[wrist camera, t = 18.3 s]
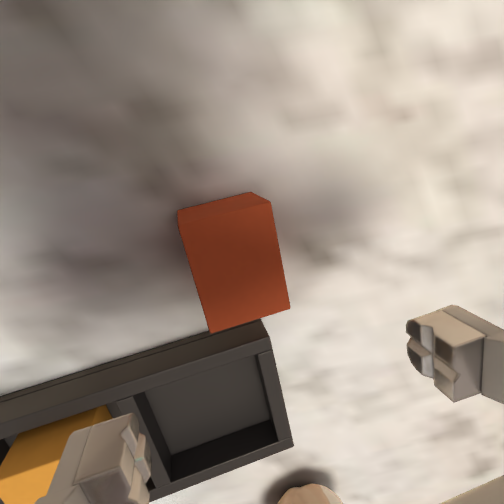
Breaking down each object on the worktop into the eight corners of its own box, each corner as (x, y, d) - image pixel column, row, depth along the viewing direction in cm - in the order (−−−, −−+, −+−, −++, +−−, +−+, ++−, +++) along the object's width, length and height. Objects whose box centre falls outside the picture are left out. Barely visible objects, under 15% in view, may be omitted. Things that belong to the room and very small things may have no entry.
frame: (-30, 405, 18) (-60, 443, 16) (258, 315, 21) (269, 336, 19) (40, 507, 22) (24, 551, 19) (282, 417, 24) (294, 446, 22)
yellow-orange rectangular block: (25, 419, 19) (-11, 484, 15) (101, 394, 20) (84, 451, 16) (66, 484, 21) (42, 556, 17) (133, 460, 22) (124, 523, 18)
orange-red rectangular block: (176, 210, 18) (177, 225, 14) (251, 191, 19) (270, 201, 15) (203, 300, 20) (210, 334, 16) (270, 280, 21) (291, 309, 17)
